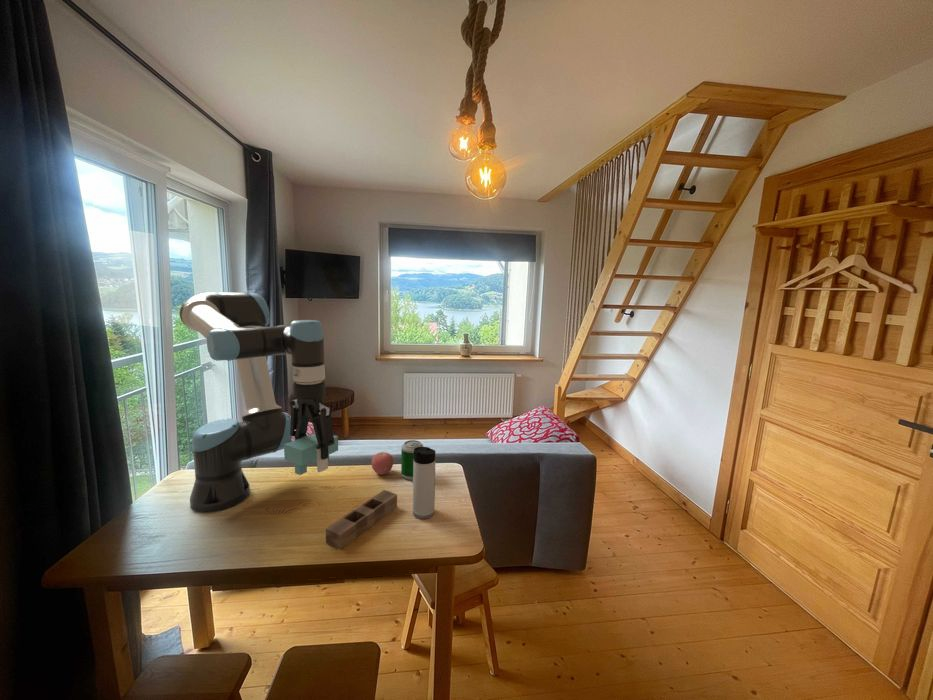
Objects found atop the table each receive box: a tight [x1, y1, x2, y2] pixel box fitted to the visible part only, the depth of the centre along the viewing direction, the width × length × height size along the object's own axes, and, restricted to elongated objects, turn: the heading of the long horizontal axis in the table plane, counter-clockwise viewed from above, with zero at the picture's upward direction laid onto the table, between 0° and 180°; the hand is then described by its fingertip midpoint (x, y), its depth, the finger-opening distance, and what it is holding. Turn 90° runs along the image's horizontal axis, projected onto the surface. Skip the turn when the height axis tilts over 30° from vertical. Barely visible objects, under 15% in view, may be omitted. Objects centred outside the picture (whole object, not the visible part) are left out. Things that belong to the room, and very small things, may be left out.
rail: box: [325, 489, 398, 551], centre depth 104 cm, size 5×22×4 cm, turn 151°
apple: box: [371, 451, 395, 476], centre depth 132 cm, size 7×7×8 cm
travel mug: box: [412, 446, 436, 520], centre depth 108 cm, size 6×7×20 cm
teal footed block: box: [283, 432, 339, 476], centre depth 98 cm, size 7×11×8 cm, turn 149°
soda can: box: [400, 439, 424, 481], centre depth 130 cm, size 8×8×12 cm
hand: (312, 466), depth 99 cm, fingers closed on teal footed block, 7 cm apart
